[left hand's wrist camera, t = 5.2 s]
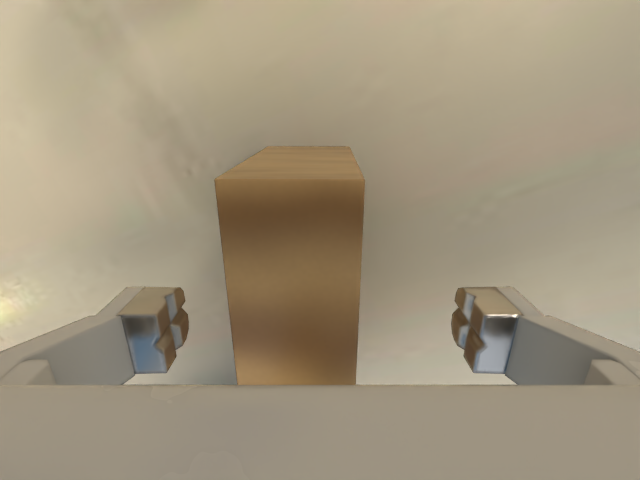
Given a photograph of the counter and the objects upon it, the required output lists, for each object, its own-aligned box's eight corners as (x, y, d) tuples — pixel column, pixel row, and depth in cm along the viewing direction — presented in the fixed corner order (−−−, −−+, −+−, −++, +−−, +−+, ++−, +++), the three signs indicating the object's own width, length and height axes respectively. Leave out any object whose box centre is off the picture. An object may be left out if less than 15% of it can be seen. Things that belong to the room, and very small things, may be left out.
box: (267, 146, 25) (213, 178, 13) (349, 146, 24) (365, 179, 13) (282, 416, 34) (257, 569, 23) (341, 417, 34) (346, 573, 22)
